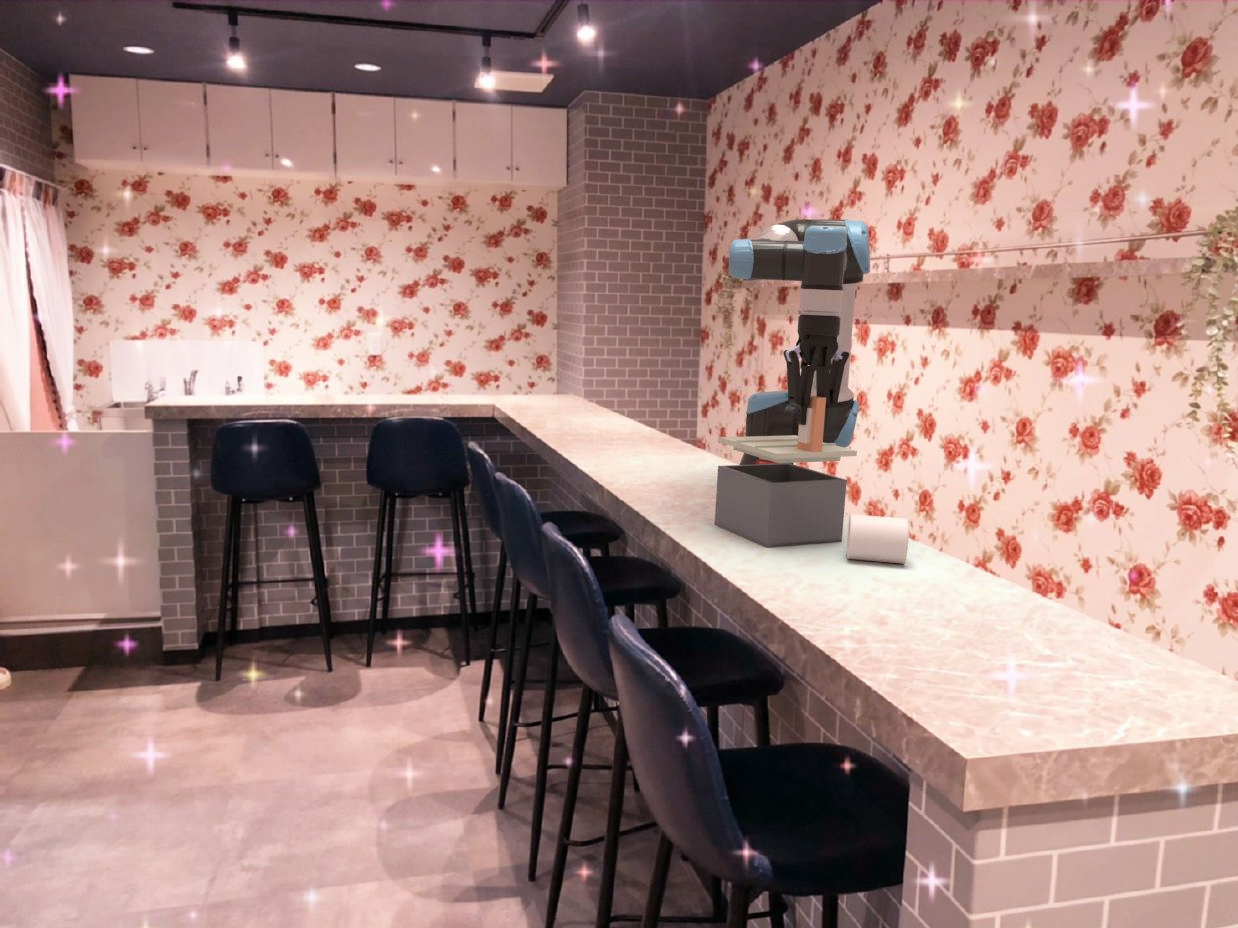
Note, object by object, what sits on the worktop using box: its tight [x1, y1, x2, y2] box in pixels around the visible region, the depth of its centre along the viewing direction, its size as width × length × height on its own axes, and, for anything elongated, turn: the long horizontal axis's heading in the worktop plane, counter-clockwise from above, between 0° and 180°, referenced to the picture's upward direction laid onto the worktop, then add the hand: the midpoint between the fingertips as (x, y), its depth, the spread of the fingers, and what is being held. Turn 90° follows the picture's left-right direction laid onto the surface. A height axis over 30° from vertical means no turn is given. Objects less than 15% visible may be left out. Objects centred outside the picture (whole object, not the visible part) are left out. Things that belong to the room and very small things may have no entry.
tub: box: [714, 463, 848, 548], centre depth 193 cm, size 17×19×12 cm
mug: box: [846, 513, 910, 565], centre depth 178 cm, size 12×10×8 cm
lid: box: [718, 395, 858, 464], centre depth 189 cm, size 18×20×12 cm
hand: (810, 442), depth 183 cm, fingers closed on lid, 2 cm apart
